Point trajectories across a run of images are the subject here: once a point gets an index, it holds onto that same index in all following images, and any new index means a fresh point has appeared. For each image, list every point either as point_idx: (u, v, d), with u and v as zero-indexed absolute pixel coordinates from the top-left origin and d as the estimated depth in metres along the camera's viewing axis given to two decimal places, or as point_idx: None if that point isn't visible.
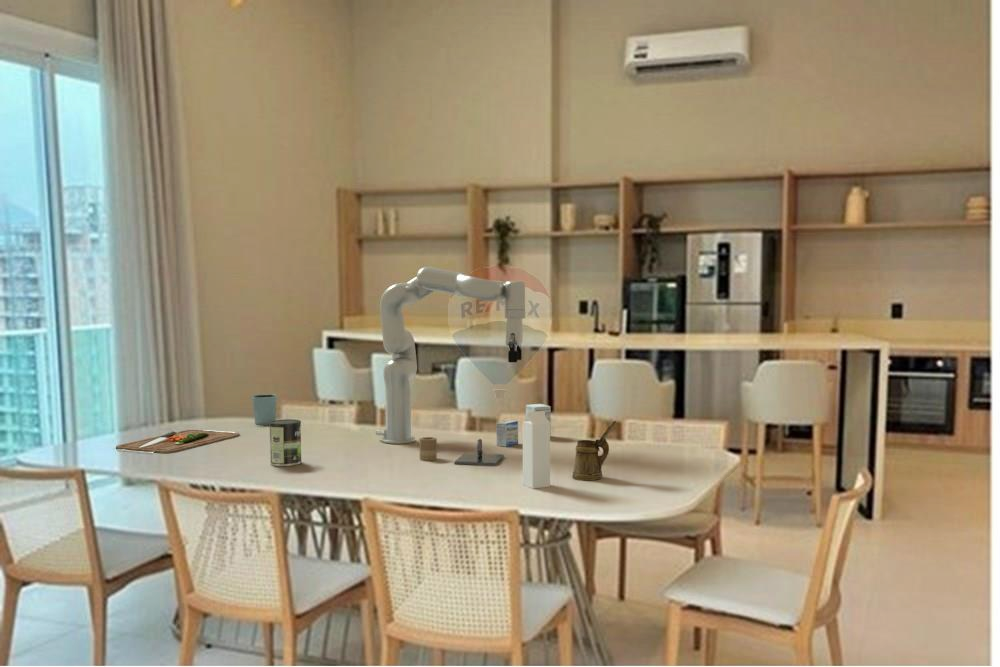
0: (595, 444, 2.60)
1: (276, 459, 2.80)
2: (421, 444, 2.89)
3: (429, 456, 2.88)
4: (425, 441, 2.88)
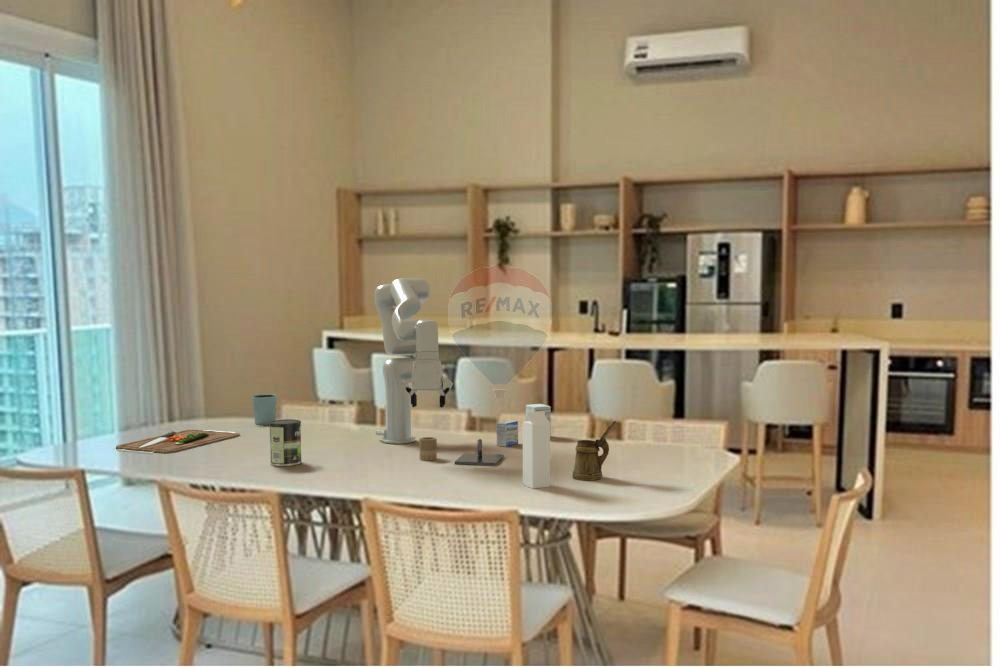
0: (595, 444, 2.60)
1: (276, 459, 2.80)
2: (421, 444, 2.89)
3: (429, 456, 2.88)
4: (425, 441, 2.88)
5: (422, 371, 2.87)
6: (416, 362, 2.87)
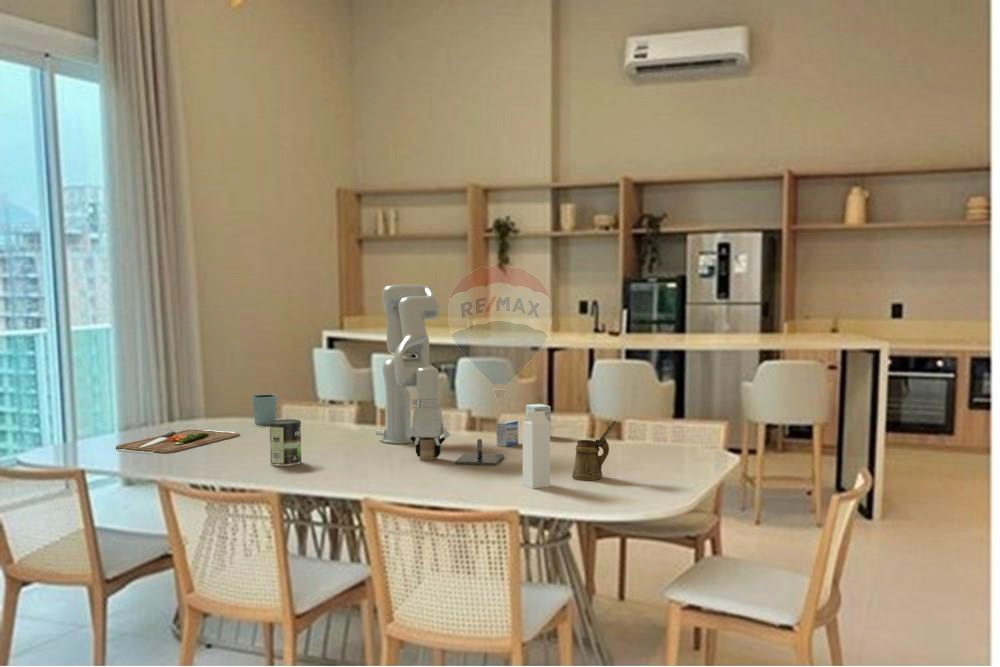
0: (595, 444, 2.60)
1: (276, 459, 2.80)
2: (421, 444, 2.89)
3: (429, 456, 2.88)
4: (425, 441, 2.88)
5: (422, 418, 2.88)
6: (416, 409, 2.88)
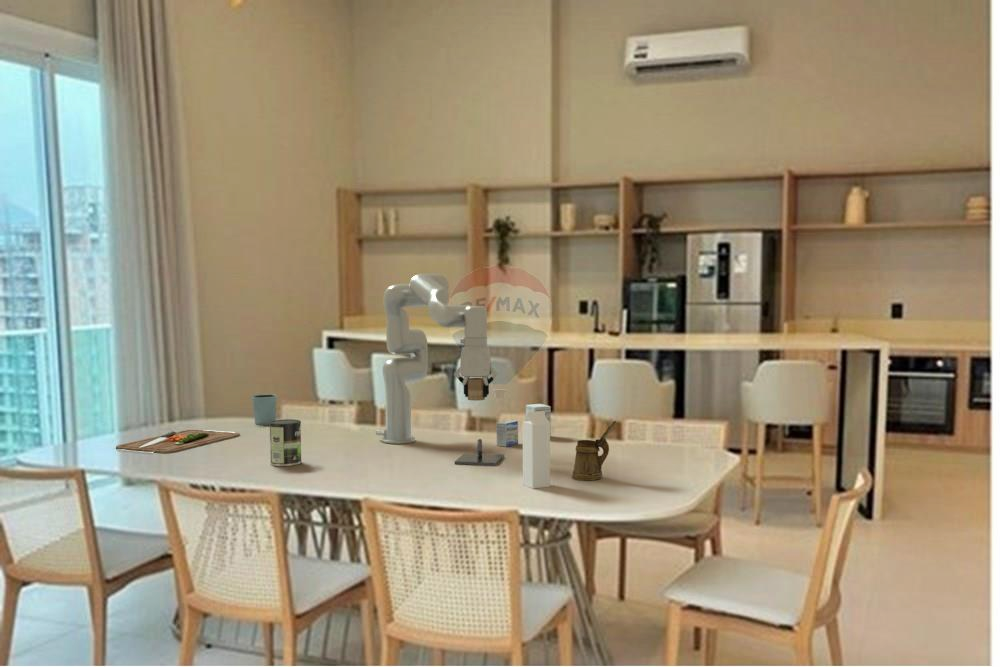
0: (595, 444, 2.60)
1: (276, 459, 2.80)
2: (469, 384, 2.85)
3: (477, 396, 2.84)
4: (473, 381, 2.84)
5: (471, 358, 2.83)
6: (465, 348, 2.84)
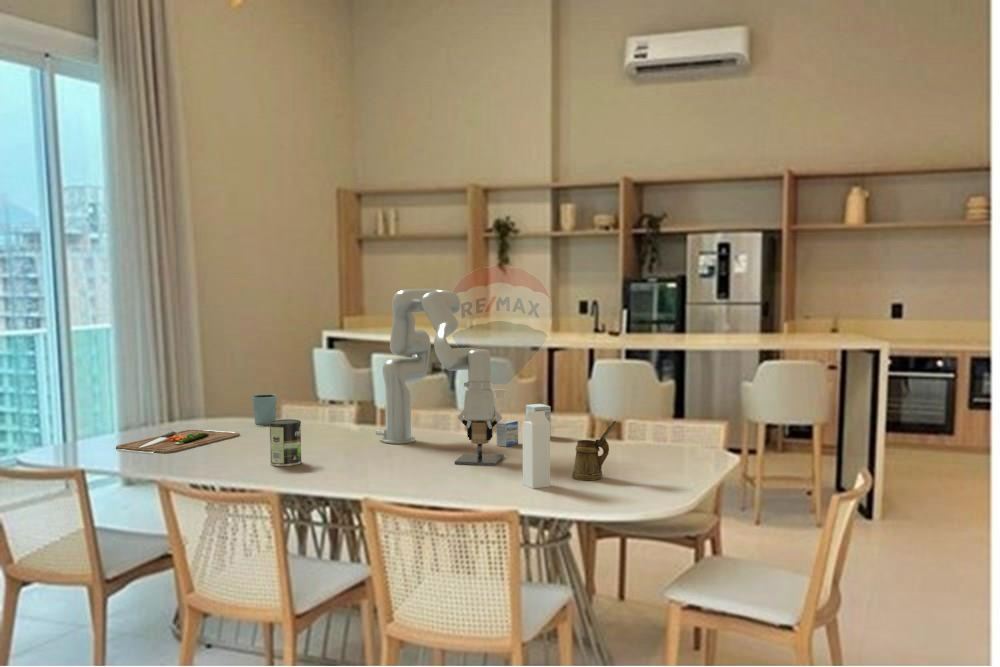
0: (595, 444, 2.60)
1: (276, 459, 2.80)
2: (473, 427, 2.85)
3: (481, 439, 2.84)
4: (477, 424, 2.84)
5: (474, 401, 2.84)
6: (468, 392, 2.85)
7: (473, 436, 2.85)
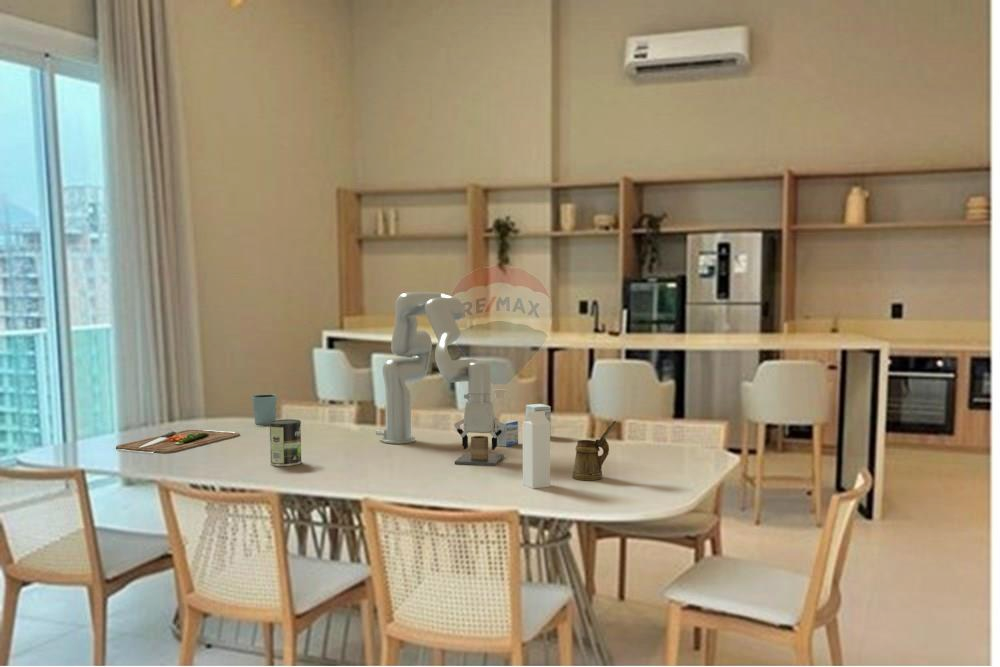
0: (595, 444, 2.60)
1: (276, 459, 2.80)
2: (473, 443, 2.85)
3: (481, 455, 2.85)
4: (477, 440, 2.85)
5: (474, 413, 2.84)
6: (468, 404, 2.85)
7: (473, 452, 2.86)
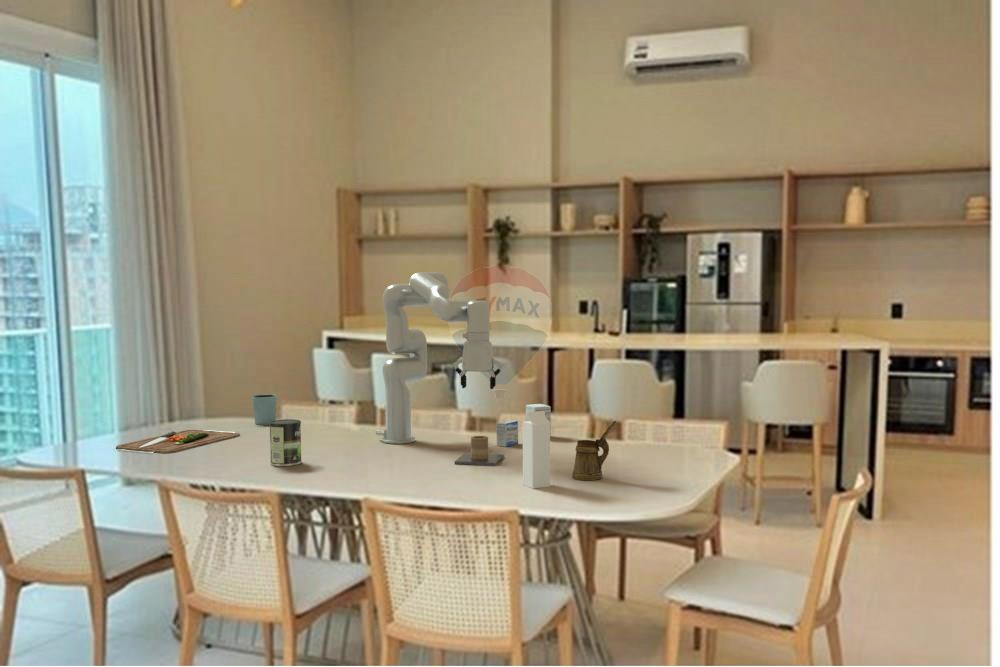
0: (595, 444, 2.60)
1: (276, 459, 2.80)
2: (473, 443, 2.85)
3: (481, 455, 2.85)
4: (477, 440, 2.85)
5: (473, 352, 2.85)
6: (467, 343, 2.85)
7: (473, 452, 2.86)
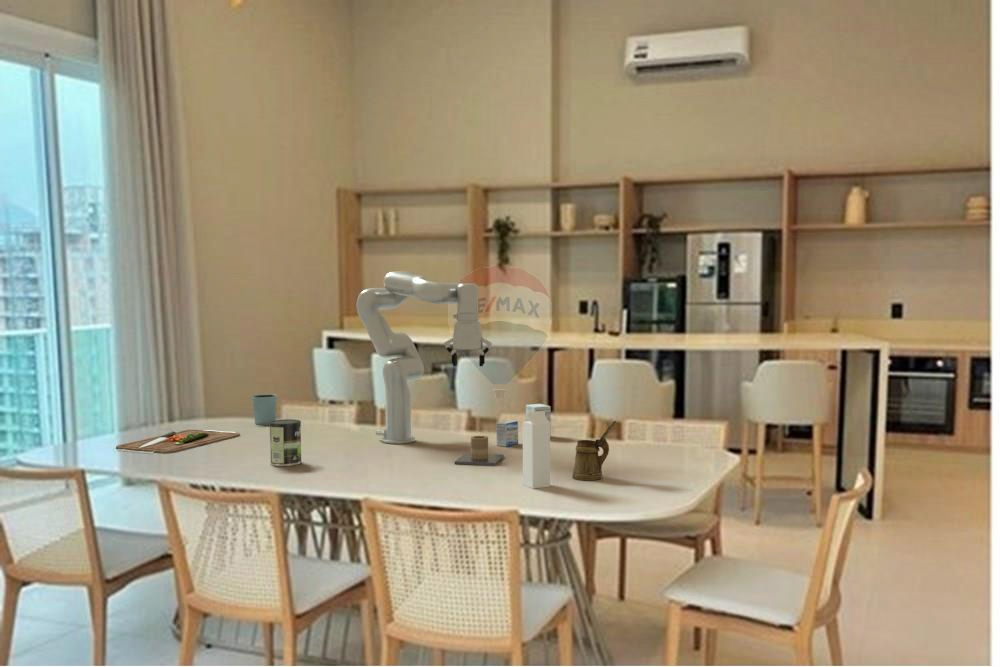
0: (595, 444, 2.60)
1: (276, 459, 2.80)
2: (473, 443, 2.85)
3: (481, 455, 2.85)
4: (477, 440, 2.85)
5: (463, 332, 3.02)
6: (457, 323, 3.03)
7: (473, 452, 2.86)
